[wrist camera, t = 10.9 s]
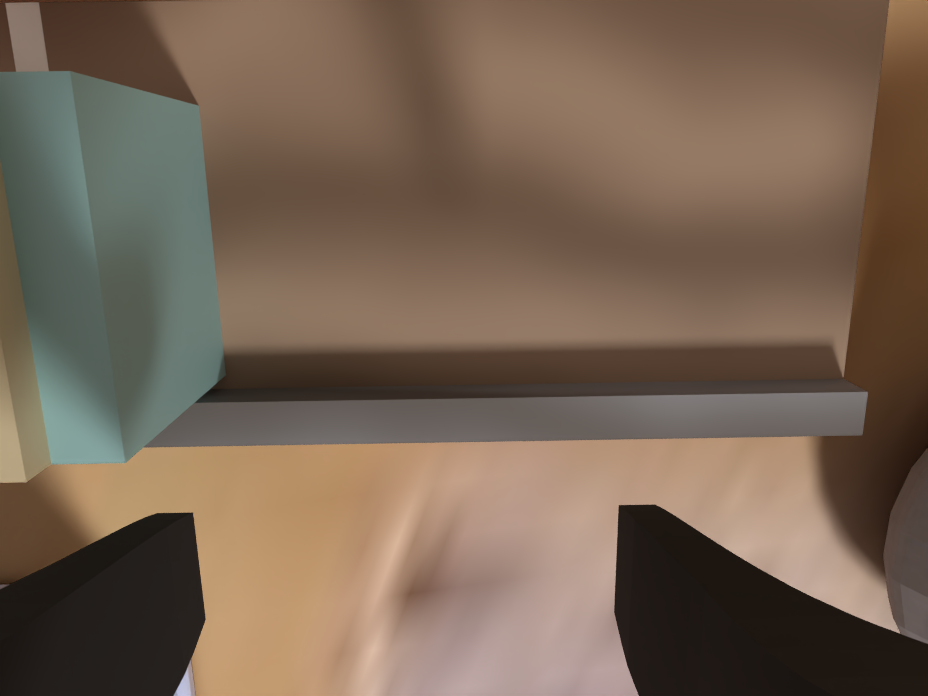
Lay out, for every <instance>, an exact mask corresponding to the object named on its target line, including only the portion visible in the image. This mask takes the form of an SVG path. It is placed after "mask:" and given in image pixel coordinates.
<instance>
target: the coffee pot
mask: <svg viewBox="0 0 928 696" xmlns="http://www.w3.org/2000/svg"><path fill="white" fill-rule="evenodd" d="M883 558H884V566H885V575H886V583H887V592H888V598H889V602H890V606H891V611H892V615H893V618H894V620H895V622H896V625H897V627H898V629H899V631H900V633H901V634H902V635H905V636H907V637H910V638H913V639H916V640H918V641H921V642H924V643H927V644H928V448H927V449H926V450H925V452H924V453H923V454H922V455H921V457H920V458H919V459H918V460H917V462H916V463H915V464H914V465H913V467H912V468H911V470H910V472H909V474H908V476H907V478H906V480H905V483H904V485H903V487H902V489H901V491H900V493H899V495H898V497H897V500H896V502H895V504H894V506H893V508H892V510H891V514H890V519H889V525H888V530H887V536H886V542H885V547H884V553H883Z"/></svg>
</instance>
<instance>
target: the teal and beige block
mask: <svg viewBox="0 0 928 696" xmlns="http://www.w3.org/2000/svg"><path fill="white" fill-rule="evenodd" d="M224 376H226V371H225V361H224V351H223V341H222V331H221V321H220V311H219V301H218V291H217V281H216V271H215V261H214V251H213V241H212V231H211V221H210V211H209V202H208V192H207V182H206V172H205V162H204V152H203V142H202V132H201V122H200V112H199V106H198V105H194V104H191V103H187V102H183V101H180V100H176V99H172V98H168V97H165V96H161V95H157V94H154V93H150V92H146V91H142V90H139V89H135V88H131V87H128V86H124V85H120V84H116V83H113V82H109V81H105V80H102V79H98V78H94V77H90V76H87V75H83V74H79V73H76V72H72V71H36V72H0V483H16V482H28V481H29V480H30V479H32V478H33V477H35V476H36V475H37V474H39V473H40V472H41V471H43V470H44V469H46V468H47V467H48V466H50V465H51V464H98V463H126V462H127V461H128V460H129V459H131V458H132V457H133V456H134V455H135V454H136V453H137V452H139V451H140V450H141V449H142V448H143V447H144V446H145V445H147V444H148V443H149V442H150V441H151V440H152V439H153V438H155V437H156V436H157V435H158V434H159V433H160V432H161V431H163V430H164V429H165V428H166V427H167V426H168V425H169V424H171V423H172V422H173V421H174V420H175V419H176V418H177V417H179V416H180V415H181V414H182V413H183V412H184V411H185V410H187V409H188V408H189V407H190V406H191V405H192V404H194V403H195V402H196V401H197V400H198V399H199V398H200V397H202V396H203V395H204V394H205V393H206V392H207V391H208V390H210V389H211V388H212V387H213V386H214V385H215V384H216V383H218V382H219V381H220V380H221V379H222V378H223V377H224Z"/></svg>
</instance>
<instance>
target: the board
mask: <svg viewBox="0 0 928 696" xmlns="http://www.w3.org/2000/svg"><path fill="white" fill-rule="evenodd" d="M888 7H889V0H186V1H110V2H28V3H0V72H36V71H72V72H76V73H79V74H83V75H87V76H90V77H94V78H98V79H102V80H105V81H109V82H113V83H116V84H120V85H124V86H128V87H131V88H135V89H139V90H142V91H146V92H150V93H154V94H157V95H161V96H165V97H168V98H172V99H176V100H180V101H183V102H187V103H191V104H194V105H198V106H199V112H200V122H201V132H202V142H203V152H204V162H205V172H206V182H207V192H208V202H209V211H210V221H211V231H212V241H213V251H214V261H215V271H216V281H217V291H218V301H219V311H220V321H221V331H222V341H223V351H224V361H225V371H226V376H224V377H223V378H222V379H221V380H220V381H219V382H218V383H216V384H215V385H214V386H213V387H212V388H211V389H210V390H208V391H207V392H206V393H205V394H204V395H203V396H202V397H200V398H199V399H198V400H197V401H196V402H195V403H194V404H192V405H191V406H190V407H189V408H188V409H187V410H185V411H184V412H183V413H182V414H181V415H180V416H179V417H177V418H176V419H175V420H174V421H173V422H172V423H171V424H169V425H168V426H167V427H166V428H165V429H164V430H163V431H161V432H160V433H159V434H158V435H157V436H156V437H155V438H153V439H152V440H151V441H150V442H149V443H148V444H147V445H145V446H144V447H196V446H256V445H315V444H375V443H435V442H494V441H554V440H614V439H673V438H733V437H793V436H853V435H863V427H864V420H865V412H866V404H867V397H868V392H867V391H865V390H864V389H862V388H860V387H858V386H856V385H854V384H852V383H850V382H848V381H847V380H845V379H843V378H844V369H845V361H846V353H847V345H848V336H849V328H850V320H851V312H852V304H853V295H854V287H855V279H856V271H857V262H858V254H859V246H860V238H861V230H862V221H863V213H864V205H865V197H866V188H867V180H868V172H869V164H870V156H871V147H872V139H873V131H874V123H875V114H876V106H877V98H878V90H879V81H880V73H881V65H882V57H883V49H884V40H885V32H886V24H887V16H888Z"/></svg>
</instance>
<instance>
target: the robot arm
mask: <svg viewBox="0 0 928 696" xmlns="http://www.w3.org/2000/svg"><path fill="white" fill-rule="evenodd" d="M614 613H615V617H616V621H617V626H618V630H619V634H620V638H621V643H622V646H623V650H624V654H625V658H626V662H627V666H628V668H629V671H630V674H631V676H632V679H633V682H634V684H635V687H636V689H637V692H638V695H639V696H928V644H927V643H924V642H921V641H918V640H916V639H913V638H910V637H907V636H905V635H902V634H899V633H897V632H894V631H891V630H888V629H886V628H883V627H880V626H878V625H875V624H873V623H870V622H868V621H865V620H863V619H860V618H858V617H855V616H853V615H851V614H848V613H846V612H844V611H842V610H840V609H837V608H835V607H833V606H831V605H829V604H826V603H824V602H822V601H820V600H818V599H815V598H813V597H811V596H809V595H807V594H805V593H803V592H801V591H799V590H797V589H795V588H793V587H791V586H789V585H787V584H786V583H784V582H782V581H780V580H778V579H777V578H775V577H773V576H771V575H769V574H768V573H766V572H764V571H762V570H760V569H758V568H757V567H755V566H753V565H752V564H750V563H748V562H747V561H745V560H743V559H742V558H740V557H738V556H737V555H735V554H733V553H732V552H730V551H729V550H727V549H725V548H724V547H722V546H721V545H719V544H717V543H716V542H714V541H713V540H711V539H710V538H708V537H707V536H705V535H703V534H702V533H700V532H699V531H697V530H696V529H694V528H693V527H691V526H690V525H688V524H687V523H685V522H684V521H682V520H680V519H679V518H677V517H676V516H674V515H673V514H671V513H669V512H668V511H666V510H664V509H662V508H661V507H659V506H657V505H619V514H618V538H617V561H616V584H615V608H614ZM205 620H206V619H205V610H204V602H203V594H202V585H201V577H200V568H199V560H198V551H197V543H196V534H195V526H194V517H193V513H156V514H154V515H151V516H148V517H145V518H143V519H141V520H138V521H136V522H134V523H132V524H130V525H128V526H126V527H123V528H121V529H119V530H117V531H115V532H114V533H112V534H110V535H108V536H106V537H104V538H102V539H100V540H98V541H96V542H94V543H92V544H90V545H88V546H86V547H84V548H82V549H80V550H79V551H77V552H75V553H73V554H71V555H69V556H67V557H65V558H63V559H61V560H59V561H57V562H55V563H53V564H51V565H49V566H47V567H45V568H43V569H41V570H39V571H37V572H35V573H33V574H31V575H29V576H26V577H24V578H22V579H20V580H18V581H16V582H14V583H12V584H10V585H0V696H195V688H194V681H193V673H192V665H191V658H192V655H193V653H194V650H195V648H196V645H197V642H198V639H199V636H200V634H201V631H202V628H203V625H204V622H205Z"/></svg>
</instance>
